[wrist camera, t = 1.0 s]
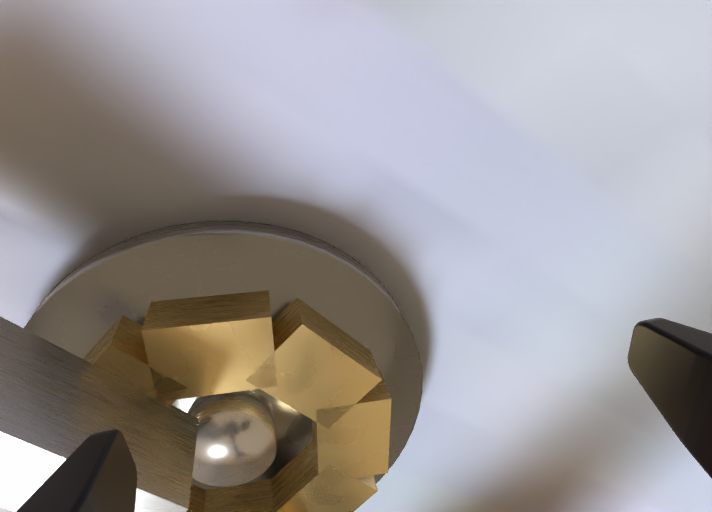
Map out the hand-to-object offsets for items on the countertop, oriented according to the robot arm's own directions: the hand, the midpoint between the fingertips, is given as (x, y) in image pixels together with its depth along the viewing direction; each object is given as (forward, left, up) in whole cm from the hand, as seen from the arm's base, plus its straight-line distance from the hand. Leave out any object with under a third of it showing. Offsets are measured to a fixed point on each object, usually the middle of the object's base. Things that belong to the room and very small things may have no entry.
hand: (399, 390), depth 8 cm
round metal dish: (-3, +8, -9) cm, 13 cm away
